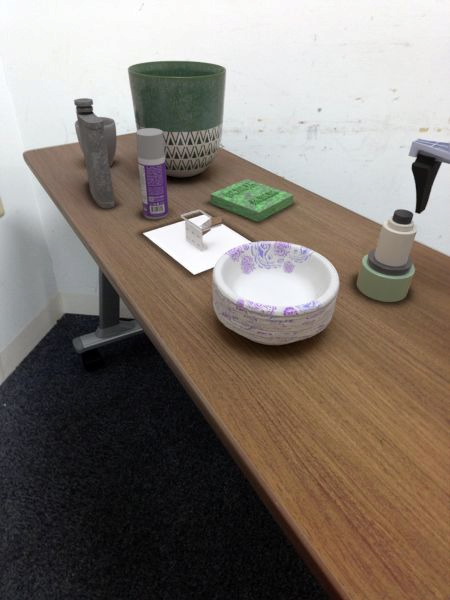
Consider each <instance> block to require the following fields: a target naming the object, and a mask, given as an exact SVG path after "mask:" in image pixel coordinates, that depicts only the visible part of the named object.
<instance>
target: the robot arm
mask: <svg viewBox="0 0 450 600" xmlns="http://www.w3.org/2000/svg"><path fill="white" fill-rule="evenodd" d="M408 157H412V158H415V160H414V161H413V162H412V163H411V172H412V176H413V181H414V185H415V186H414V187H415V208H414V209H415V210H414V213H415V214H419V215H420V214H422V213H423V212H424V211H425V210H426V208H427V206H428V203H429V200H430V196H431V192H432V188H433V185H434V183H435V180H436V177H437V175H438V173H439V171H440V168H441V166H442V163H444V164H448V165H450V142H445V141H437V140H436V141H435V140H428V139H422V138H416V139H415V140H412V142H411V146H410V149H409V152H408Z"/></svg>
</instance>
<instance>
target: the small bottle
mask: <svg viewBox="0 0 450 600" xmlns="http://www.w3.org/2000/svg"><path fill="white" fill-rule="evenodd" d="M413 218H414V212H412V211H410V210H408V209H401V208H399V209H395V210H394V212H393V214H392V216H390V217H388V219H386V220H384V221H383V222H382V224H381V229H380V233H379V236H378V240H377V243H376V247H375V249H376V250H375V254H374V257H375V259H376V260H377V261H378V262H380V263H382V264H384V265H388V266H393V267H398V266H403V265H405V264H406V263H407V260H408V257H410V254H411V251H412V248H413V245H414V242H415V238H416V235H417V233H418V227H417V226H416V225H415V221H414V220H413Z"/></svg>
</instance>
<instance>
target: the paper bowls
mask: <svg viewBox="0 0 450 600" xmlns="http://www.w3.org/2000/svg"><path fill="white" fill-rule="evenodd" d="M251 242H252V241H251ZM212 269H213V270H212V288H211V289H212V290H211V291H212V306H213V310H214V312H215V315H216V317H217V319H218V320H219V321H220V322H221V323H222V324H223V325H224V326H225V327H226V328H227V329H229V330H232V331H233V332H235V333H236V334H238V335H240V336H242V337H244V338H246V339H248V340H250V341H253V342H255V343H258V344H262V345H268V346H281V345H283V346H284V345H288V344H293V343H294V342H298V341H304V340H306V339H309V338H312V337H314V336H316V335H317V334H320V332H321V333H322V331H324V330H325V329H326V328H327V327H328V325H329V324H330V323H331V321H332V318H333V316H334V313H335V308H336V306H337V305H336V303H337V299H338V295H339V290H340V285H341V284H340V283H341V282H340V281H341V280H340V276H339V274H338V271H337V269H336V268H335V266H334V265H333V264H332V263H331V261H330V260H329V259H327V258H326V257H325V256H323V255H322V254H320V253H318V252H317V251H315V250H313V249H311V248H308V247H306V246H303V245H300V244H296V243H293V242H286V241H277V240H276V241H274V240H260V241H253V242H252V243H247V244H243V245H240V246H237V247H235V248H233V249H231V250H229V251H227V252H226V253H225V254H223V255H222V256H221V257H220V258H219V260H218V261H217V262H216V264H215V266H214V267H213V268H212Z"/></svg>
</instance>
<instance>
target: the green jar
mask: <svg viewBox="0 0 450 600" xmlns="http://www.w3.org/2000/svg"><path fill="white" fill-rule="evenodd" d="M375 250H376V248H373V249H371V250H370V251H369V252H368V253H367V254H365V255H364V256H363V257H362V259H361V263H360V266H359V270H358V274H357V279H356V287H357V289H358V291H360V293H361V294H363V295H364V296H366V297H368V298H369V299H372V300H375V301H378V302H382V303H396V302H400V301H403V300H404V299H406V297H407V295H408V293H409V290H410V287H411V284H412V283H413V282H412V281H413V279H414V276H415V273H416V267H415V265H414V264H413V260H412V259H413V258H411V256H409V257H408V260H407V263H406V264H405V265H403V266H398V267H393V266H388V265H384V264H382V263H380V262H378V261H377V260H376V259H375V257H374V254H375Z"/></svg>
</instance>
